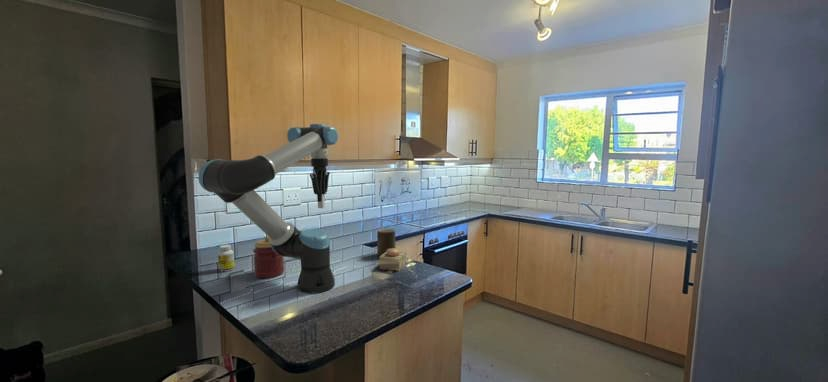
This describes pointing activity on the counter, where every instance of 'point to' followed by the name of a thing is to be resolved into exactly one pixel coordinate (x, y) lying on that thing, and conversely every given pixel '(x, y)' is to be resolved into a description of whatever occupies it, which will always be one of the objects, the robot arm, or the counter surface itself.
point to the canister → (267, 260)
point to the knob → (392, 252)
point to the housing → (392, 261)
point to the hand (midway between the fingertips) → (321, 207)
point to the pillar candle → (385, 240)
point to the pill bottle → (226, 258)
